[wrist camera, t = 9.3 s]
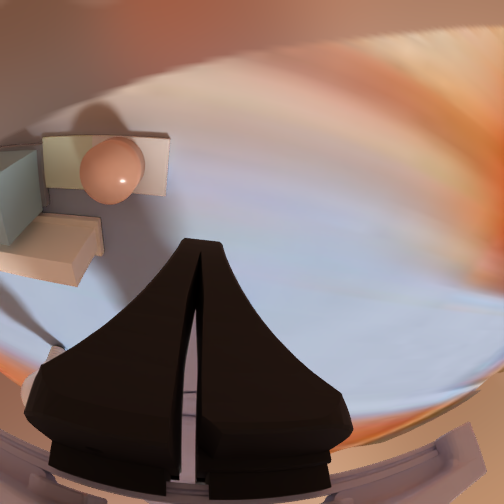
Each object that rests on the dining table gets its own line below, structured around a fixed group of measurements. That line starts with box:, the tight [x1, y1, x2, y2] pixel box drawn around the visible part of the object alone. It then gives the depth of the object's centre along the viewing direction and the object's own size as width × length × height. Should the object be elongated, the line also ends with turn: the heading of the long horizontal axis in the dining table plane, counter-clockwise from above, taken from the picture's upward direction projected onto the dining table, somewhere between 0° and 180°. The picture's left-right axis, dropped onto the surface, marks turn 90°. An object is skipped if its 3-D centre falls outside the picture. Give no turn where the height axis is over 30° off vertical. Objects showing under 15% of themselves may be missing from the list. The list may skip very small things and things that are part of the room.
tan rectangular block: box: [0, 212, 104, 287], centre depth 17 cm, size 3×12×5 cm, turn 79°
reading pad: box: [0, 143, 50, 207], centre depth 15 cm, size 5×6×1 cm
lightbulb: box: [21, 346, 65, 407], centre depth 24 cm, size 6×6×11 cm
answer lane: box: [42, 135, 170, 196], centre depth 16 cm, size 4×10×1 cm, turn 78°
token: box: [80, 137, 145, 205], centre depth 16 cm, size 4×4×2 cm
